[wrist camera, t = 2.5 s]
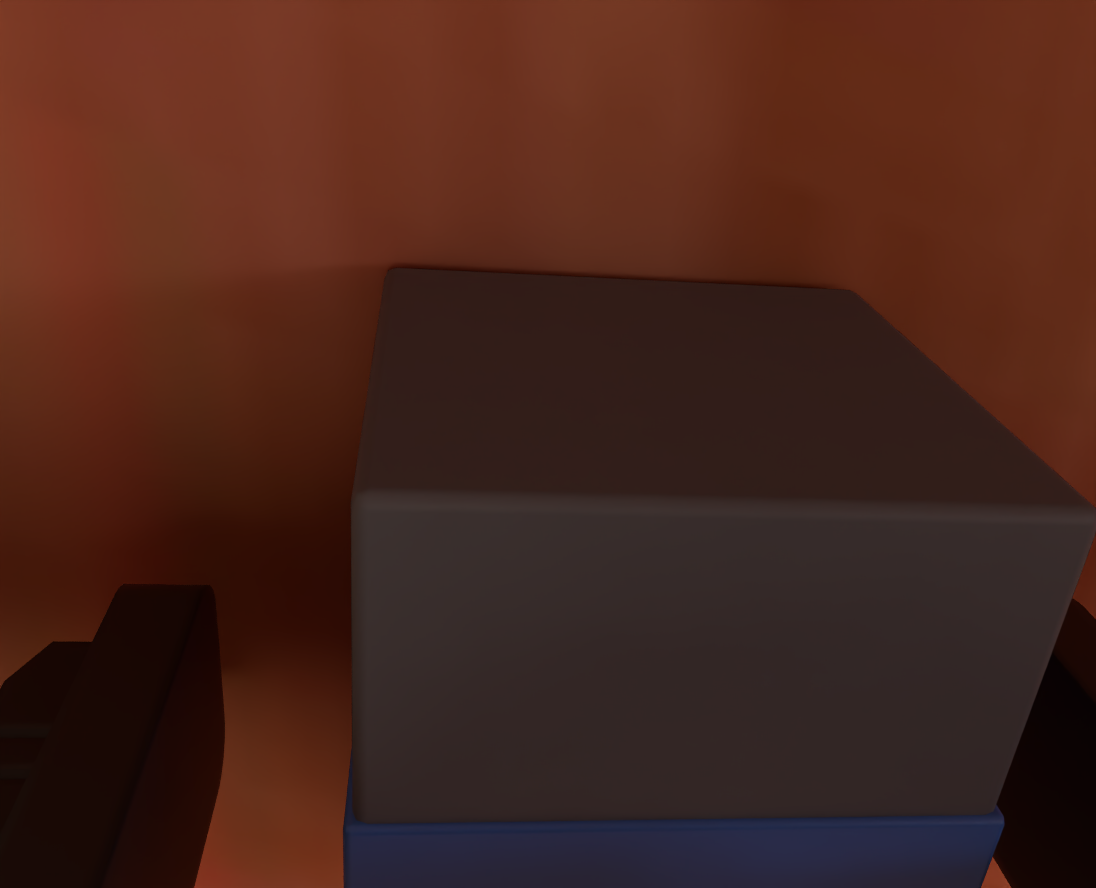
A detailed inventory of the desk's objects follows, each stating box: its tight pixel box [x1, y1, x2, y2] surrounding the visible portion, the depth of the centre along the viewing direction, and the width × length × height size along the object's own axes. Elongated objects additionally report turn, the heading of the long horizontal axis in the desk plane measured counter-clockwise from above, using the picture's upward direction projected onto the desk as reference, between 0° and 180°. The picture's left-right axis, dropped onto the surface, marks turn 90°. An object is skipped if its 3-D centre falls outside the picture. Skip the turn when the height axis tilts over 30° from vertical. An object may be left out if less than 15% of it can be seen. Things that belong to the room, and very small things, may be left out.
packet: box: [343, 268, 1096, 888], centre depth 9 cm, size 7×4×4 cm, turn 175°
